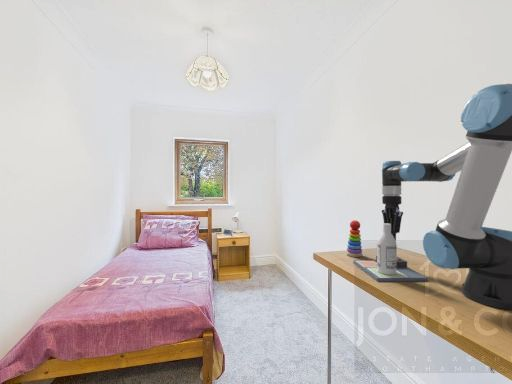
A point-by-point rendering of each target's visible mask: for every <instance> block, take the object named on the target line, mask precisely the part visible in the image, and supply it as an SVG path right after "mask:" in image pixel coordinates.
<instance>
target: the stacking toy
mask: <svg viewBox="0 0 512 384" xmlns="http://www.w3.org/2000/svg"><path fill="white" fill-rule="evenodd" d="M349 227H350V229H349V237H348V241H347V244H346V245H347V248H346V250H347V251H346V255H347V256H349V257H352V258H361V257H362V256H363V249H362V242H361V240H362V238H361V230H360V228H361V222H359V220H355V219H354V220H351V221H350V223H349Z"/></svg>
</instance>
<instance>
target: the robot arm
mask: <svg viewBox="0 0 512 384" xmlns="http://www.w3.org/2000/svg"><path fill="white" fill-rule="evenodd" d="M460 122H461V123H462V124H461V126H462V127H463V129H464V130H465V131H467V132H466V134H465V138H466V140H468V142H466V143H465V144H462V145H461V146H459V147H458V148H456V149H455V150H453V151H451V152H449V153H448V154H446V155H445V156H443V157H441V158H440V159H438V160H436V161H435V162H428V163H427V162H423V163H421V162H418V161H409V162H405V163H402V161H400V160H388V161H384V162H383V163H382V169H381V177H382V179H381V181H382V187H381V188H382V190H381V191H382V192H381V193H382V194H381V195H383V196H381V197H382V198H381V199H382V204H383V205H385V206H384V209H381V213H382V219H383V224H384V223H388V224H391V234H392V235H393V237H394V238H395V240H396V241H397V234H398V233H399V234H400V231H401V223H402V217H403V215H404V212H403V211H400V207H399V205H402V183H403V182H404V183H405V182H439V183H442V182H449V181H452V180H453V179H454V177H456V174H457V173H459V172H460V174H459V177H458V179H457V183H456V186H455V189H454V193H453V196H452V198H451V201H450V203H449V207H448V210H447V213H446V216H445V218H443V219H441V220H439V221H438V222H437V224H436V227H435V230H430V231H428V232H426V233H425V234H424V236H423V237H422V239H423V240H422V246H423V247H422V248H423V251H424V253H425V255H426V257H427V259H428V260H429V261H430V262H431V263H432V264H433V265H434V266H436V267H438V268H440V269H450V270H457V269H468V272H467V275H466V277H465V280H464V282H463V283H462V285H461V293H462V295H463V296H465V297H466V298H468V299H469V300H472V301H474V302H477V303H479V304H483V305H485V306H490V307H492V308H497V309H504V310H509V311H512V230H508V229H507V230H506V229H500V228H494V227H488V226H487V227H486V226H483V225H484V222H485V219H486V217H487V214H488V212H489V210H490V207H491V205H492V202H493V200H494V196H496V192H497V189H498V187H499V184H500V182H501V179H502V176H504V175H503V174H504V171H505V169H506V167H507V164H508V161H509V159H510V156H511V154H512V83H503V84H502V83H501V84H494V85H493V84H492V85H489V86H486V87H484V88H482V89H480V90H479V91H477V93H476V94H475V93H474V95H472V96H471V97H470V98H469V99H468V100H467V102H466V103H465V105H464V107H463V108H462V111H461V115H460ZM400 195H401V196H400Z"/></svg>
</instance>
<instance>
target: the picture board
mask: <svg viewBox="0 0 512 384" xmlns="http://www.w3.org/2000/svg"><path fill="white" fill-rule="evenodd" d="M375 257H376V259H375V260H353V261H352V263H353V264H354V265H355V266H356V267H357V268H359V269H360V270H361V271H363V272H364V273H365V274H367V275H368V276H369V277H371V278H372V279H373V280H374V281H376V282H429V277H427V276H425V275H424V274H421V273H419V271H416V270H415V269H412V268H410V267H408V261H407V260H405V259H403V258H401V257H399V256H397V255H396V257H397V258H398V261H396V274H394V275H386V274H382V273H380V272H378V271H377V255H376V256H375Z"/></svg>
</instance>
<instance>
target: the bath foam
mask: <svg viewBox="0 0 512 384" xmlns="http://www.w3.org/2000/svg"><path fill="white" fill-rule="evenodd" d="M376 244H377V245H376V251H377V253H376V256H377V271H378V272H380V273H382V274H386V275H394V274H396V256H397V251H398V250H397V248H398V245H397V239H396V240H395V238H394V237H393V235H392V234H391V224H388V223H384V222H383V224H382V233H381V234H380V235H379V237H378V238H377V242H376Z"/></svg>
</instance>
